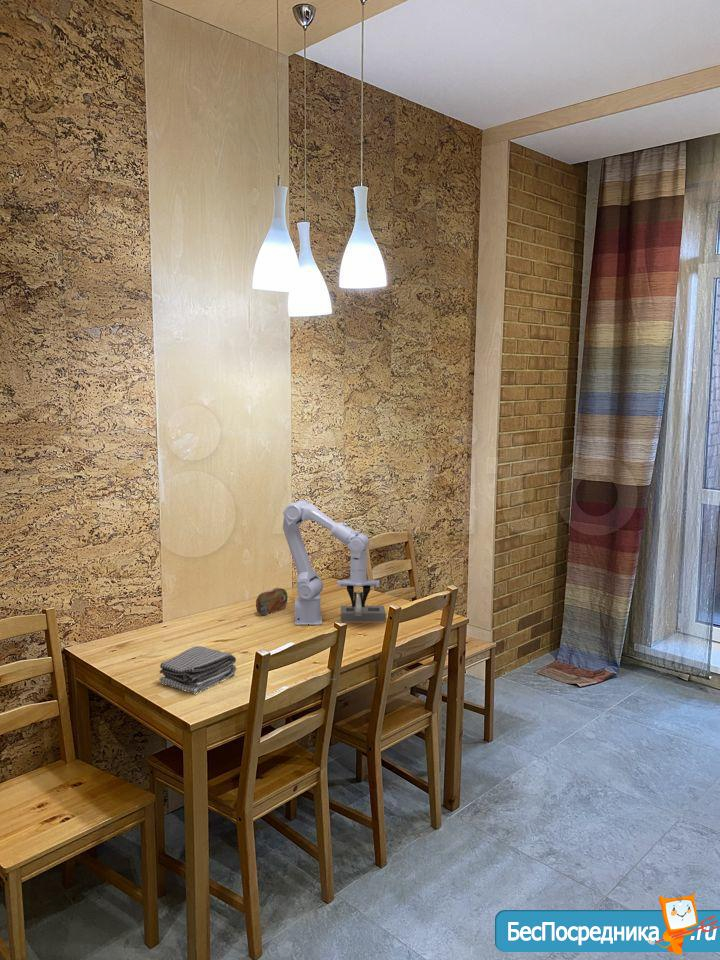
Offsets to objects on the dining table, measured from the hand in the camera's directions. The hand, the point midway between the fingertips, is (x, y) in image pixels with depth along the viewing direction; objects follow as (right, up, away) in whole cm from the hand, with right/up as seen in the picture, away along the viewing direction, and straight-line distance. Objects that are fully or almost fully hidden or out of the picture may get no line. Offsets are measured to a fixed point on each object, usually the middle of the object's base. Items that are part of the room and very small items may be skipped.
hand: (358, 606), depth 266 cm
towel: (-47, -15, -44) cm, 66 cm away
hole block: (+2, -6, +11) cm, 13 cm away
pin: (0, -3, 0) cm, 3 cm away
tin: (-33, -5, +19) cm, 38 cm away
